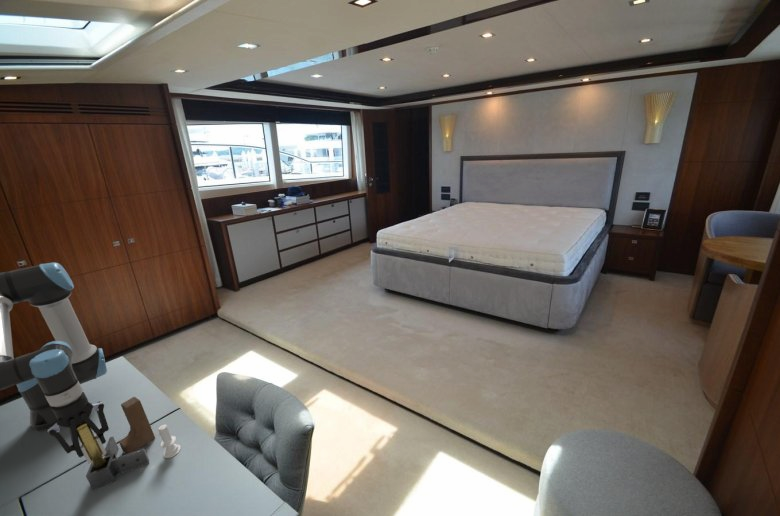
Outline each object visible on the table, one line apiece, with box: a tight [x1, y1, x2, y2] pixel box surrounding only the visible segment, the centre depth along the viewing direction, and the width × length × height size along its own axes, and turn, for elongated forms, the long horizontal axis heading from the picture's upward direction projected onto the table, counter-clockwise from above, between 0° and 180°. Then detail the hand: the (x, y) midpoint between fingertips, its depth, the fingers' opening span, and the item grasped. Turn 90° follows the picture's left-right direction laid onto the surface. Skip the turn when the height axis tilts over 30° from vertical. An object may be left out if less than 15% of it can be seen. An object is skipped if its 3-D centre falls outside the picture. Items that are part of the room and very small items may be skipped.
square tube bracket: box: [85, 436, 150, 490], centre depth 116 cm, size 15×15×6 cm
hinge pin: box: [76, 422, 106, 468], centre depth 106 cm, size 4×4×17 cm
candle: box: [158, 423, 182, 459], centre depth 117 cm, size 5×5×12 cm
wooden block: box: [119, 396, 156, 455], centre depth 120 cm, size 9×4×18 cm, turn 148°
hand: (96, 456), depth 108 cm, fingers closed on hinge pin, 3 cm apart
